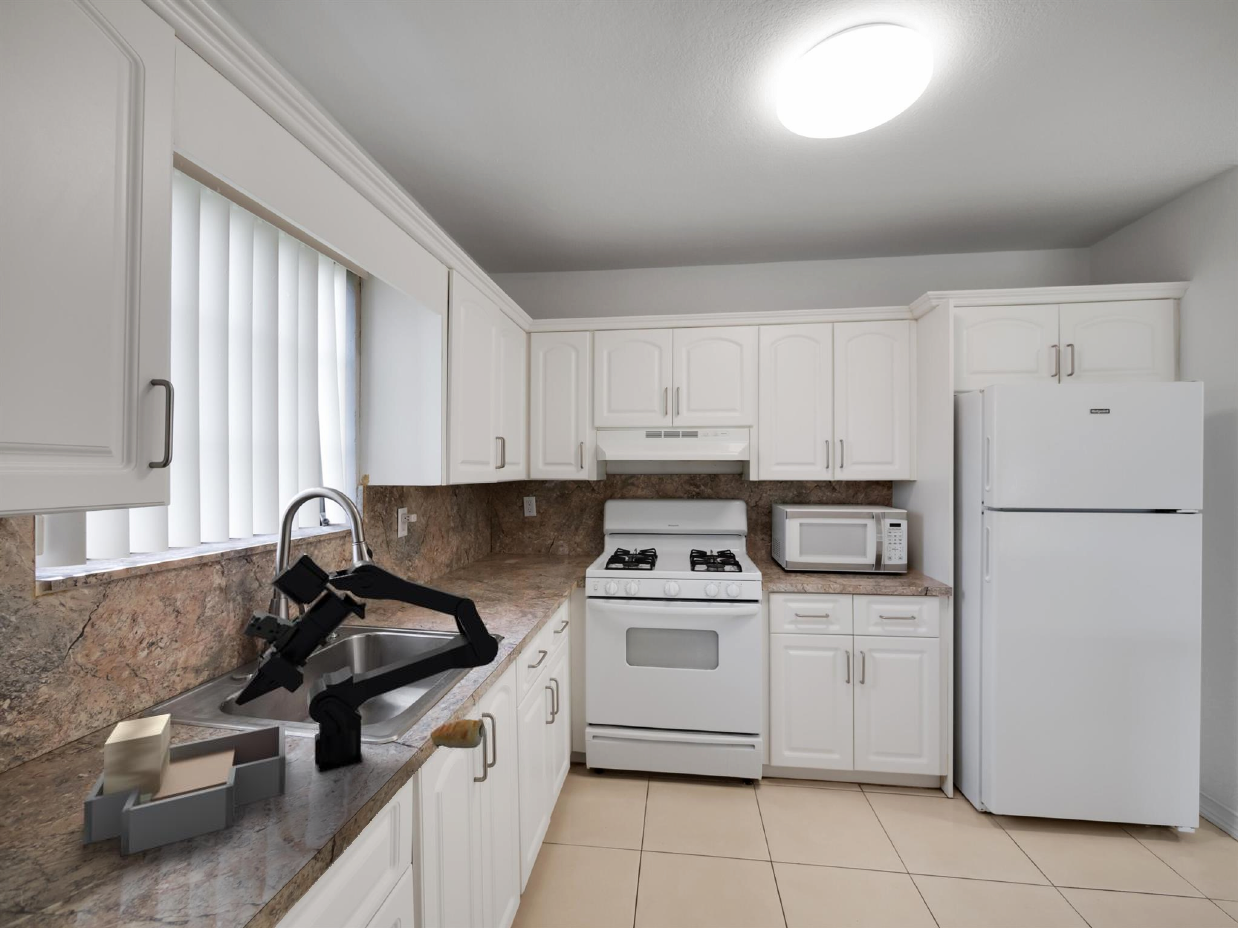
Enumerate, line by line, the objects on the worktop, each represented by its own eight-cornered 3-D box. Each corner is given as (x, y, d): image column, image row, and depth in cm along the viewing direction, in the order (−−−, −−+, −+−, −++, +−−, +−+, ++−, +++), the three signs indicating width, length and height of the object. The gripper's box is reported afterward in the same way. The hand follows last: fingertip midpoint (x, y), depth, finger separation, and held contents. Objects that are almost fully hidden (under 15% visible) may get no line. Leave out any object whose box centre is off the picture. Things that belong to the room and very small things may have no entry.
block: (169, 765, 85) (170, 713, 86) (159, 790, 79) (160, 733, 79) (117, 776, 82) (119, 722, 83) (103, 803, 75) (104, 744, 76)
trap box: (284, 755, 96) (284, 723, 96) (285, 812, 79) (285, 772, 79) (110, 794, 84) (111, 757, 84) (69, 870, 68) (70, 824, 68)
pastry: (425, 750, 98) (425, 728, 98) (437, 733, 104) (437, 713, 105) (479, 750, 98) (479, 728, 98) (487, 733, 105) (487, 712, 105)
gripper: (279, 583, 98) (200, 656, 92) (279, 603, 82) (183, 693, 76) (329, 622, 102) (255, 695, 96) (337, 648, 86) (250, 737, 80)
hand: (237, 703), depth 87 cm, fingers closed
